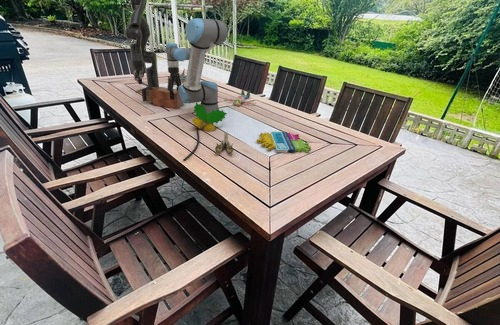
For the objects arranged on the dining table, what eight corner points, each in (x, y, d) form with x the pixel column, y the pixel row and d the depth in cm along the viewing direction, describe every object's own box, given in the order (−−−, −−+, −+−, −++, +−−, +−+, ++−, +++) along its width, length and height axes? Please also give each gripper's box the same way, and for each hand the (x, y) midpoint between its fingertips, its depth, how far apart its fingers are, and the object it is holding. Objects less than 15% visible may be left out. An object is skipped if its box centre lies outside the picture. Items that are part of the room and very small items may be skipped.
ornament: (218, 133, 171) (224, 110, 169) (221, 134, 163) (227, 111, 161) (186, 125, 162) (192, 101, 160) (189, 126, 155) (195, 101, 153)
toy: (261, 91, 228) (254, 99, 202) (261, 99, 231) (253, 108, 205) (231, 87, 233) (220, 95, 207) (230, 95, 236) (219, 104, 210)
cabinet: (153, 104, 197) (151, 89, 191) (160, 101, 206) (158, 86, 200) (177, 108, 194) (177, 93, 188) (183, 105, 203) (183, 90, 197)
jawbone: (234, 135, 144) (233, 125, 135) (233, 160, 138) (232, 151, 129) (217, 135, 144) (216, 125, 135) (216, 160, 138) (214, 150, 129)
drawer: (135, 100, 198) (134, 87, 194) (142, 97, 206) (141, 85, 202) (165, 105, 195) (164, 92, 191) (171, 102, 203) (170, 89, 199)
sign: (313, 150, 142) (258, 149, 139) (312, 153, 143) (258, 152, 140) (301, 132, 164) (254, 130, 161) (301, 134, 165) (254, 133, 162)
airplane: (159, 78, 275) (158, 68, 270) (189, 77, 288) (188, 67, 283) (167, 88, 246) (166, 77, 241) (199, 86, 260) (199, 75, 254)
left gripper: (137, 58, 194) (140, 81, 202) (126, 60, 183) (130, 85, 191) (146, 58, 193) (149, 82, 201) (136, 61, 182) (140, 86, 190)
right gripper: (175, 63, 195) (177, 93, 206) (160, 68, 176) (163, 101, 186) (185, 65, 194) (186, 94, 205) (170, 70, 175) (173, 102, 185)
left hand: (140, 84), depth 196 cm, fingers closed
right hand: (175, 97), depth 196 cm, fingers closed on cabinet, 11 cm apart
